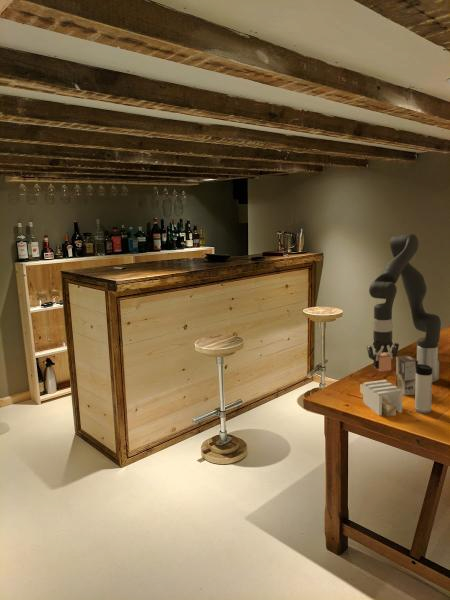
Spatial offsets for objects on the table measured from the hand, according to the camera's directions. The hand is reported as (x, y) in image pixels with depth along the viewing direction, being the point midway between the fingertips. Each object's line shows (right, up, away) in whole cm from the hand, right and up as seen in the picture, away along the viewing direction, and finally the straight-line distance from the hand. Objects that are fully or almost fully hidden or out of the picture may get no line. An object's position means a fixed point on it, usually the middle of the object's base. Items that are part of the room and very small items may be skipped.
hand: (382, 367), depth 191 cm
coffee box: (+18, -14, +18) cm, 29 cm away
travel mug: (+16, -18, -2) cm, 24 cm away
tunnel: (+1, -18, +4) cm, 18 cm away
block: (0, -1, 0) cm, 1 cm away
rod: (0, -17, +8) cm, 19 cm away
